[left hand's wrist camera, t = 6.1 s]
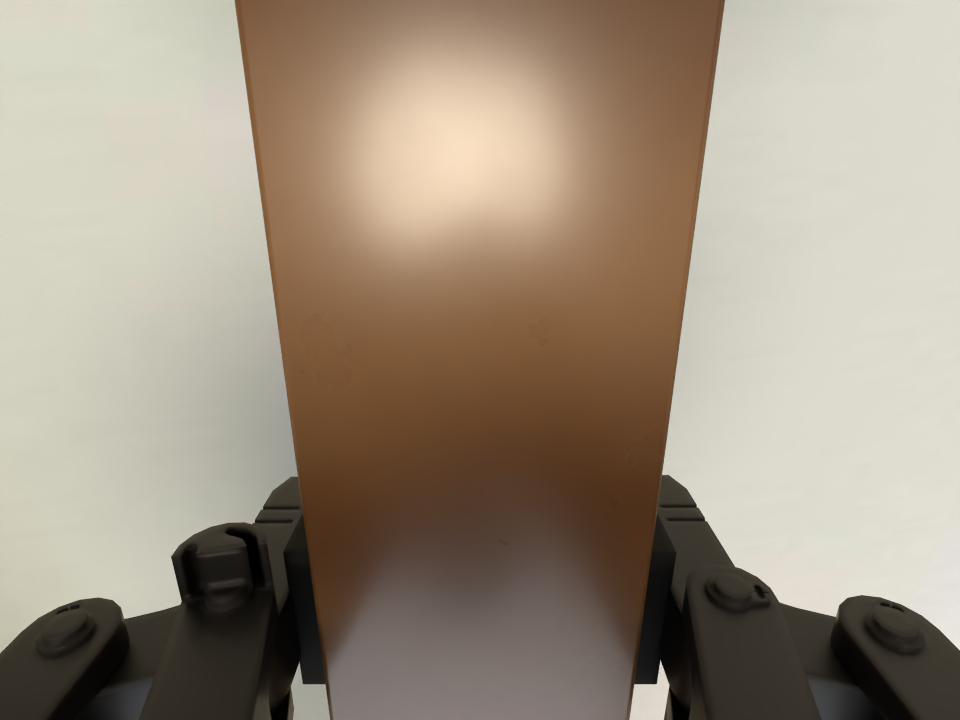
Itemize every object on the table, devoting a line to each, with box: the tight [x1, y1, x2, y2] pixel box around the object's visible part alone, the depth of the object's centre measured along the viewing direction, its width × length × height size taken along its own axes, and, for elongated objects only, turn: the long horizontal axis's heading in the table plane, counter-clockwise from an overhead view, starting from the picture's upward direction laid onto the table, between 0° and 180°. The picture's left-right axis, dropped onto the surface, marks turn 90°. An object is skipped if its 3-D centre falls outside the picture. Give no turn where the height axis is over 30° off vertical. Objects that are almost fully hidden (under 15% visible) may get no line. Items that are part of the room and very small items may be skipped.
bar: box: [235, 0, 725, 720], centre depth 9 cm, size 23×4×8 cm, turn 0°
